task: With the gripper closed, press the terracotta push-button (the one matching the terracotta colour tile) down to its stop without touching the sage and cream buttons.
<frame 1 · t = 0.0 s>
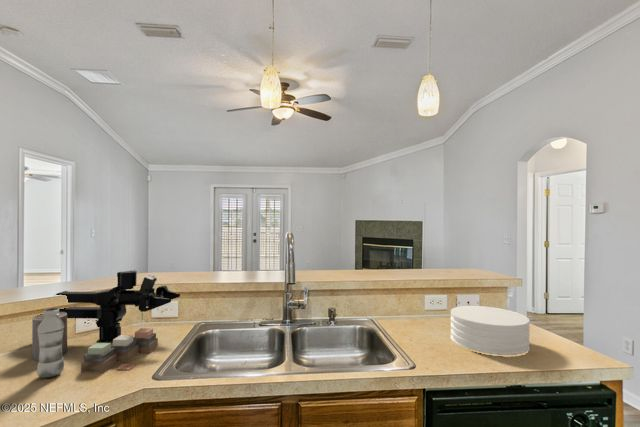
hand: (175, 297, 138), 17 cm above the counter, tool horizontal, fingers open, 9 cm apart
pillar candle: (49, 355, 122), on the counter
cream button: (123, 341, 120), point 6 cm above the counter, slide at 0.0 cm
sage button: (99, 349, 112), point 6 cm above the counter, slide at 0.0 cm
plate stack: (488, 344, 139), on the counter
terracotta button: (144, 333, 128), point 6 cm above the counter, slide at 0.0 cm
button panel: (122, 357, 120), on the counter
plastic bottle: (50, 376, 106), on the counter
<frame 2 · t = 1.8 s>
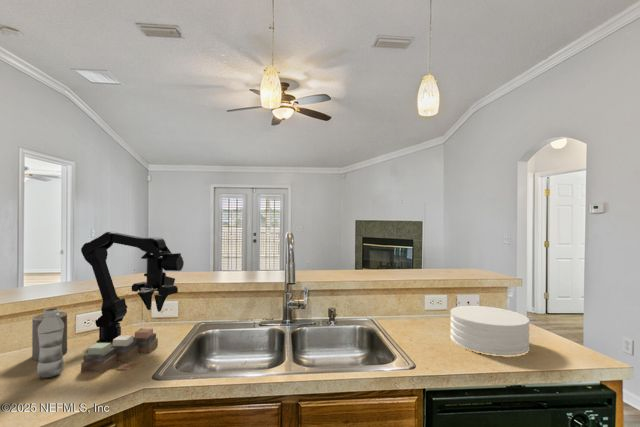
hand: (154, 310, 136), 12 cm above the counter, tool pointing down, fingers open, 5 cm apart
nothing on the counter moved.
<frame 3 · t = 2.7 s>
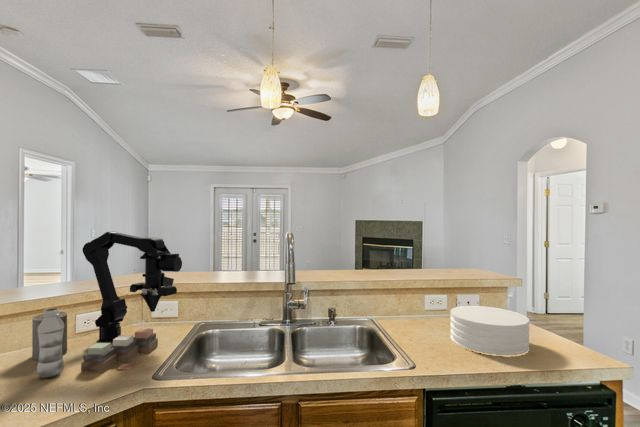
hand: (152, 311, 134), 12 cm above the counter, tool pointing down, fingers closed
nothing on the counter moved.
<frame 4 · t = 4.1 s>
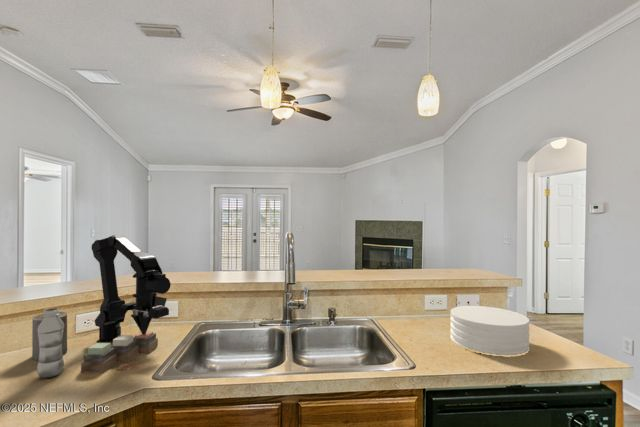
hand: (143, 333, 128), 6 cm above the counter, tool pointing down, fingers closed, pressing on terracotta button
terracotta button: (144, 336, 128), point 5 cm above the counter, slide at 1.1 cm, touching gripper
everything else where it was.
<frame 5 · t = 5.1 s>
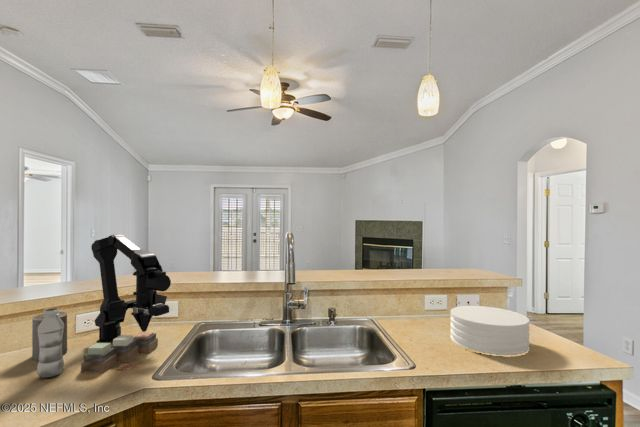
hand: (144, 331, 128), 7 cm above the counter, tool pointing down, fingers closed
terracotta button: (143, 337, 128), point 4 cm above the counter, slide at 1.5 cm
everything else where it was.
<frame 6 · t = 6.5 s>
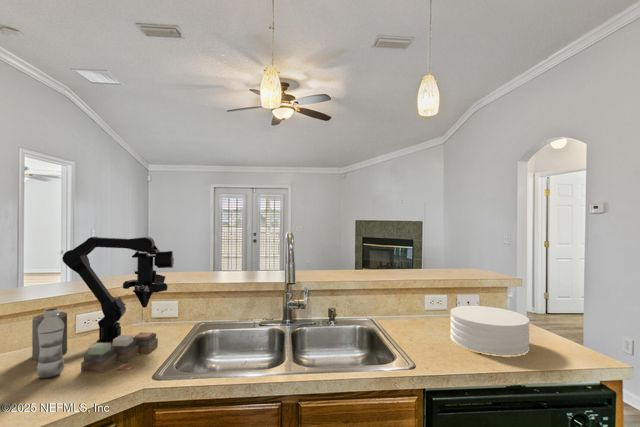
hand: (144, 307, 140), 12 cm above the counter, tool pointing down, fingers closed
nothing on the counter moved.
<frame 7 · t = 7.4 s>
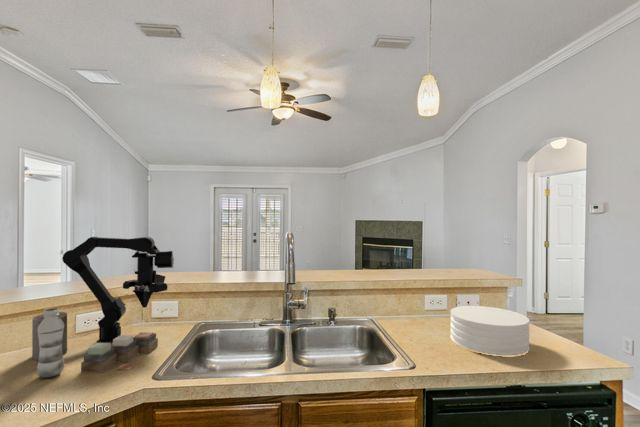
hand: (144, 307, 141), 12 cm above the counter, tool pointing down, fingers closed
nothing on the counter moved.
at the end: terracotta button slide at 1.5 cm; sage button slide at 0.0 cm; cream button slide at 0.0 cm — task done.
